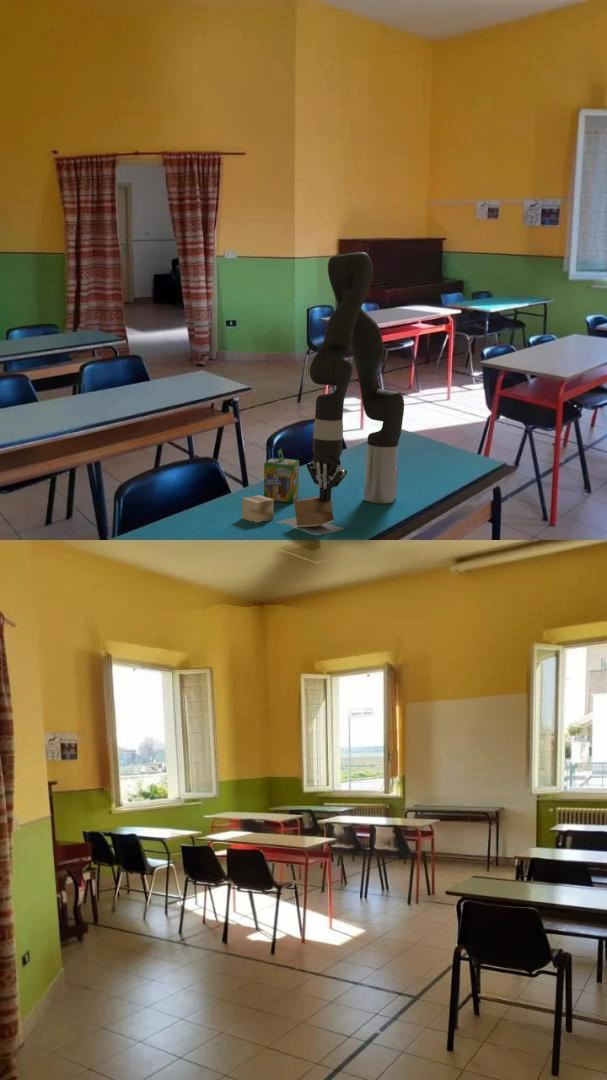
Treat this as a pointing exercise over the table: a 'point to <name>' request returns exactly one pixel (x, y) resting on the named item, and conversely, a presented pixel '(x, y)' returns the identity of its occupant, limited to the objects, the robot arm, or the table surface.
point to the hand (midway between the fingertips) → (324, 501)
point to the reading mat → (312, 527)
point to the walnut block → (313, 512)
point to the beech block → (258, 508)
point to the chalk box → (281, 479)
